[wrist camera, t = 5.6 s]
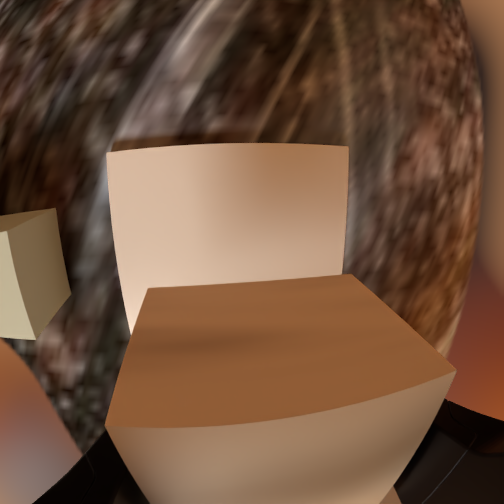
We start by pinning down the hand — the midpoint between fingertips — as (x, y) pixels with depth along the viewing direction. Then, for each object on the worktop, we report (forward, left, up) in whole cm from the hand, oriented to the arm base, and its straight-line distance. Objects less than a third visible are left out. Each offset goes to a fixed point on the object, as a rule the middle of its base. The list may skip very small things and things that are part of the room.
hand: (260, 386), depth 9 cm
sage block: (+2, +12, -9) cm, 15 cm away
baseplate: (0, 0, -8) cm, 8 cm away
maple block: (0, 0, -1) cm, 1 cm away
